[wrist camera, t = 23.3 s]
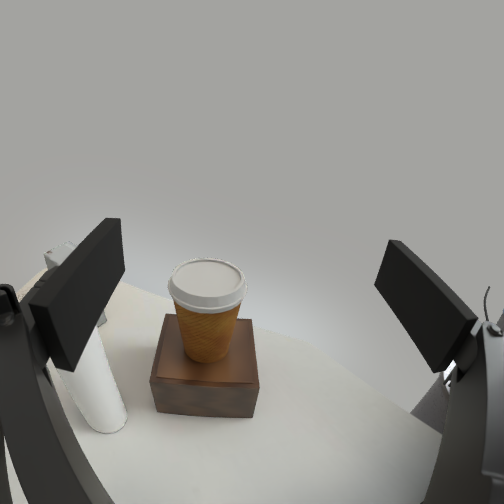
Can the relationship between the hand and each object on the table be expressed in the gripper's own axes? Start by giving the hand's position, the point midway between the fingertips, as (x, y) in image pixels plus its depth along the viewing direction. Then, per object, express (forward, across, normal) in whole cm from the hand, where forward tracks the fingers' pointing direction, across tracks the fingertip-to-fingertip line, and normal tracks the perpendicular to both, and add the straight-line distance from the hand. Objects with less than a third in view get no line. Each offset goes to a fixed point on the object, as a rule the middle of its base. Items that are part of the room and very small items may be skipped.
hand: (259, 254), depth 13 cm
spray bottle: (+8, -18, -32) cm, 38 cm away
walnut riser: (+17, -3, -32) cm, 36 cm away
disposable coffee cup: (+17, -3, -24) cm, 30 cm away
